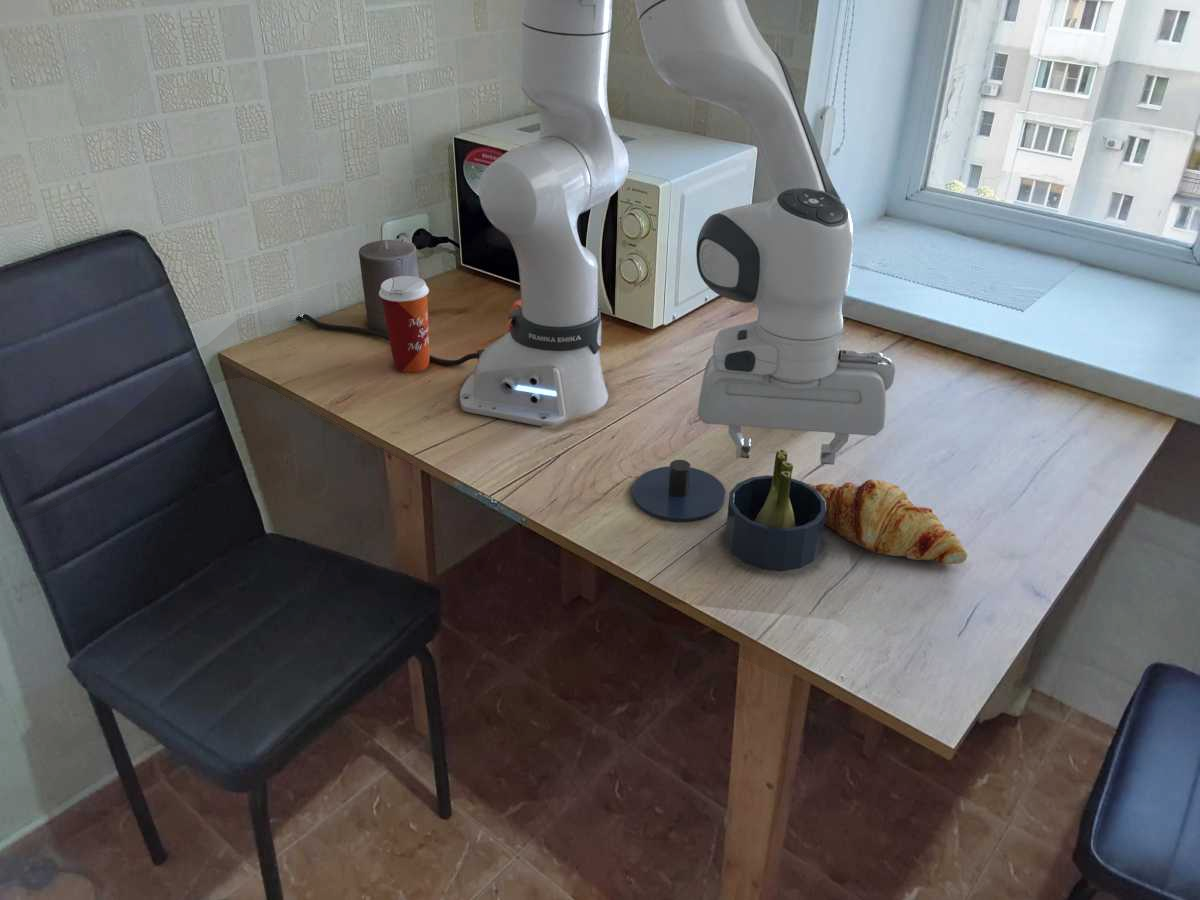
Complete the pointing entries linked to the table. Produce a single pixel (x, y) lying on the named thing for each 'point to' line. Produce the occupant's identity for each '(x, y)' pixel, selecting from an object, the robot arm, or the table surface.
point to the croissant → (888, 522)
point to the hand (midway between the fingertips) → (784, 458)
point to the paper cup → (407, 321)
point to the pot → (774, 543)
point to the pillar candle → (384, 274)
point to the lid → (678, 493)
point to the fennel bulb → (778, 496)
